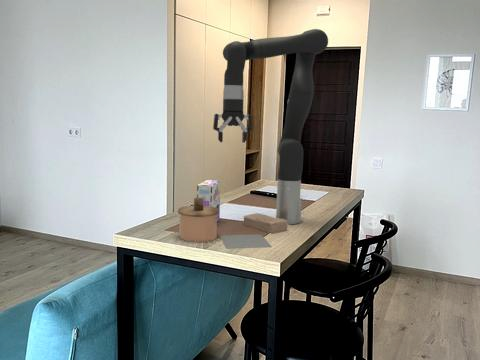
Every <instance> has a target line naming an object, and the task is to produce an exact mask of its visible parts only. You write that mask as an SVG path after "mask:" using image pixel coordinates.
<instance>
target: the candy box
mask: <svg viewBox="0 0 480 360" xmlns="http://www.w3.org/2000/svg"><path fill="white" fill-rule="evenodd" d="M196 187H197V188H196V198H203V206H211V207H215V208H218V209H219V213H218V214H217V223H218V222H219V221H220V220H221V219H220V215H221V214H220V213H221V211H220V207H221V206H220V205H221V203H220V202H221V200H220V199H221V180H215V179H206V180H205V181H203V182H200V183H199V184H197V185H196Z"/></svg>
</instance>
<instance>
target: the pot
mask: <svg viewBox="0 0 480 360" xmlns="http://www.w3.org/2000/svg"><path fill="white" fill-rule="evenodd" d="M217 236H218V222H217V215H213V216H207V217H191V216H184V215H181V214H179V238H180V239H181V240H183V241H187V242H194V243H195V242H196V243H201V242H202V243H205V242H209V241H213V240H215V239H217V238H218V237H217Z"/></svg>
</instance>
